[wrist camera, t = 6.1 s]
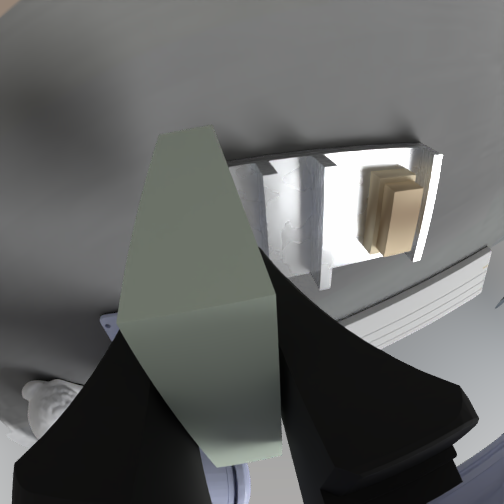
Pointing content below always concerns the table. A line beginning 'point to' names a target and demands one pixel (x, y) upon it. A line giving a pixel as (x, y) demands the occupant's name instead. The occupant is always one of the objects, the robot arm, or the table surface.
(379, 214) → the offcut lower
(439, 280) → the white board
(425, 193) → the rack
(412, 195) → the offcut upper
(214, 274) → the pale green rectangular block
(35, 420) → the rabbit
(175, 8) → the table surface
